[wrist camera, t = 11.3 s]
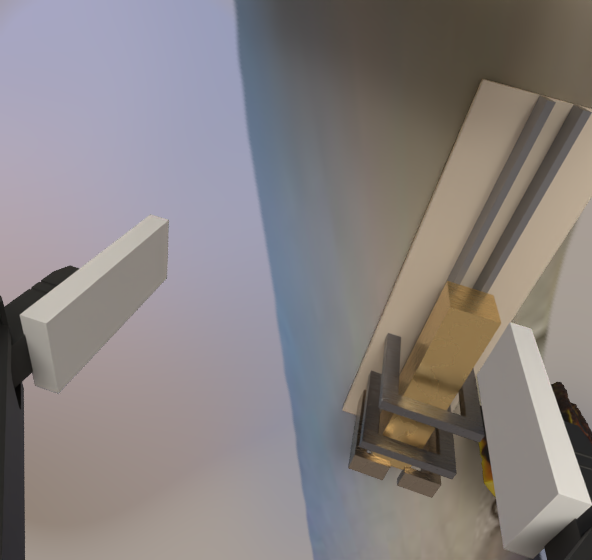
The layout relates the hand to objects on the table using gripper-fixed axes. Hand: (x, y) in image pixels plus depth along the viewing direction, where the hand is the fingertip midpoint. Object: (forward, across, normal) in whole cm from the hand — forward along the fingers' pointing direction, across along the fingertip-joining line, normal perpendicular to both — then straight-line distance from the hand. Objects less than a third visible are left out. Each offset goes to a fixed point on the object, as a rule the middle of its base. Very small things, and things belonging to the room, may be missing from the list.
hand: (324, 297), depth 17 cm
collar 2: (+26, +12, -27) cm, 39 cm away
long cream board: (+26, +12, -14) cm, 32 cm away
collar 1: (+26, +12, -21) cm, 35 cm away
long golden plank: (+23, +12, -22) cm, 34 cm away
